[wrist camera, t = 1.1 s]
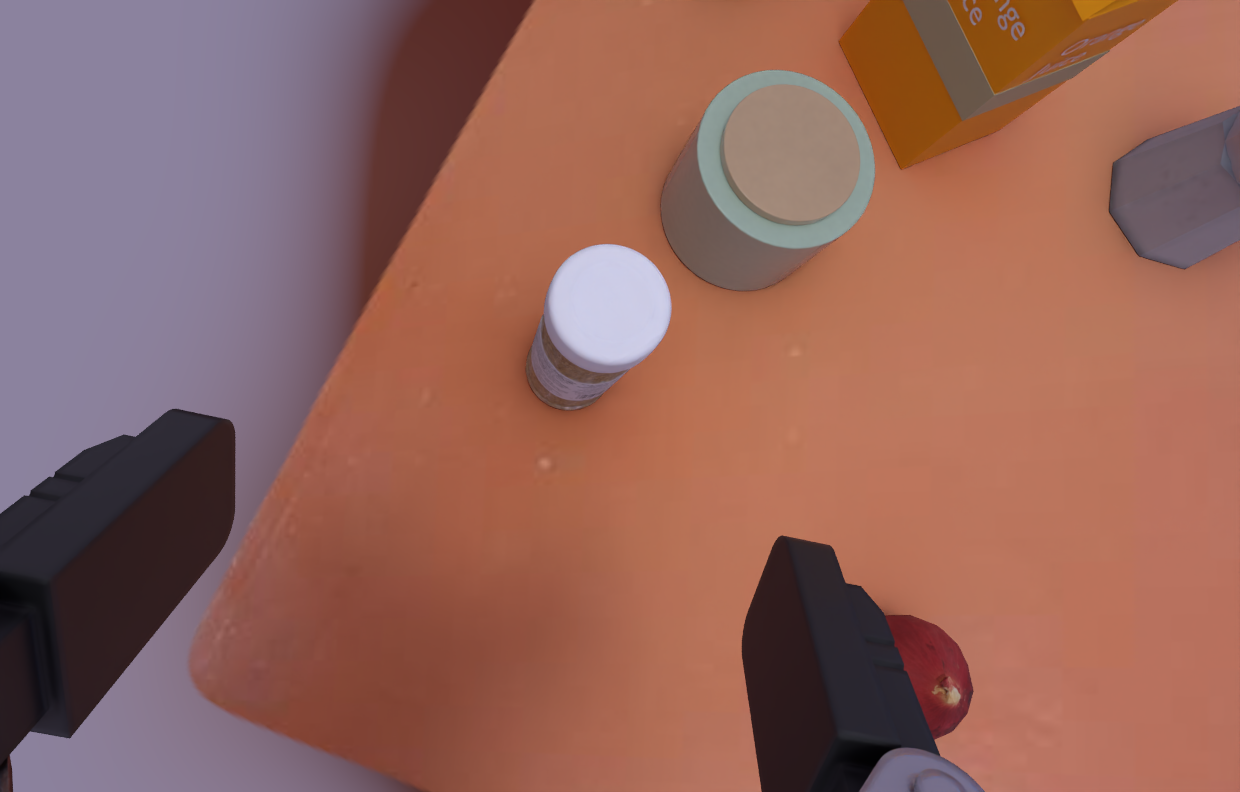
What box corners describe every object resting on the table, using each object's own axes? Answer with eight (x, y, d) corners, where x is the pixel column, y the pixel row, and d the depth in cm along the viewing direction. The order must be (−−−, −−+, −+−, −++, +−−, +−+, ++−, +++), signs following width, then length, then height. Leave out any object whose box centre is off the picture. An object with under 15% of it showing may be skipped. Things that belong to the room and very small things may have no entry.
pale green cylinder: (630, 228, 43) (664, 167, 35) (713, 108, 45) (762, 26, 37) (763, 322, 43) (825, 281, 36) (839, 199, 45) (913, 136, 38)
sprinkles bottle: (600, 320, 42) (659, 232, 28) (618, 403, 41) (687, 352, 28) (515, 335, 41) (537, 249, 27) (532, 420, 40) (562, 374, 27)
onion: (930, 631, 42) (1034, 657, 35) (898, 735, 41) (997, 787, 33) (837, 590, 42) (921, 608, 34) (801, 695, 41) (880, 738, 33)
